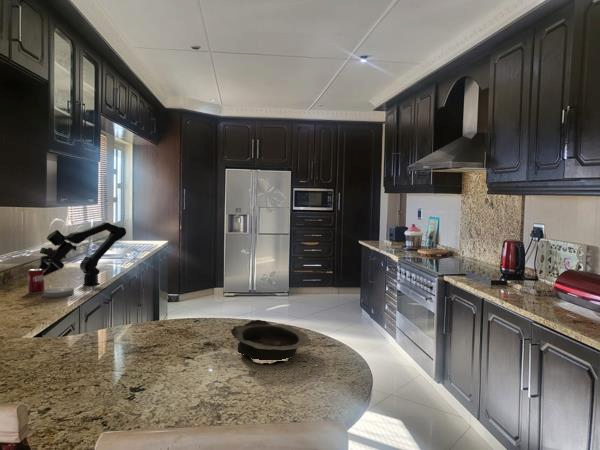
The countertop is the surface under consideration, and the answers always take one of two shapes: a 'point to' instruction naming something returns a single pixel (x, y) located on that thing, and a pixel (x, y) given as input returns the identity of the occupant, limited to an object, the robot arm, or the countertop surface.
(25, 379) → the countertop surface
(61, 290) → the riser
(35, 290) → the soda can
